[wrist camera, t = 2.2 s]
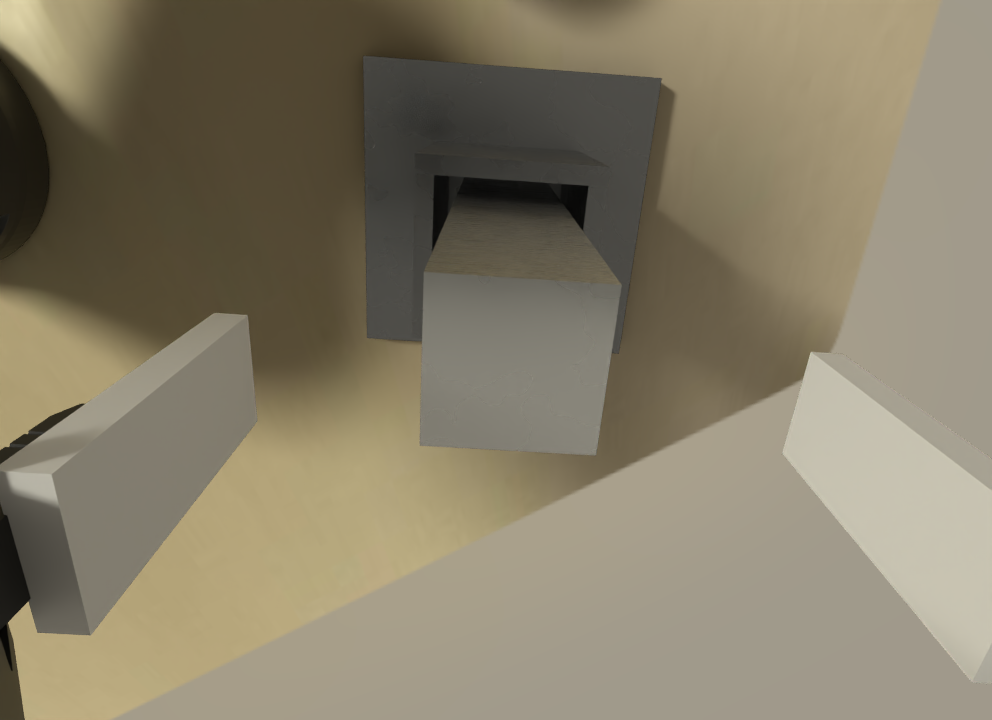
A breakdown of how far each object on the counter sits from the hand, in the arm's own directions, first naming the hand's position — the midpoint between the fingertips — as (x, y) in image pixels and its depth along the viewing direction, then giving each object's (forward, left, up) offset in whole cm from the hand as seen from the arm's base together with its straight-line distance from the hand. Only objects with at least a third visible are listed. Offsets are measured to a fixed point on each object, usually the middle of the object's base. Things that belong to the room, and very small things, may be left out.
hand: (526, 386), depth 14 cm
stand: (0, 0, -24) cm, 24 cm away
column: (0, 0, -23) cm, 23 cm away
